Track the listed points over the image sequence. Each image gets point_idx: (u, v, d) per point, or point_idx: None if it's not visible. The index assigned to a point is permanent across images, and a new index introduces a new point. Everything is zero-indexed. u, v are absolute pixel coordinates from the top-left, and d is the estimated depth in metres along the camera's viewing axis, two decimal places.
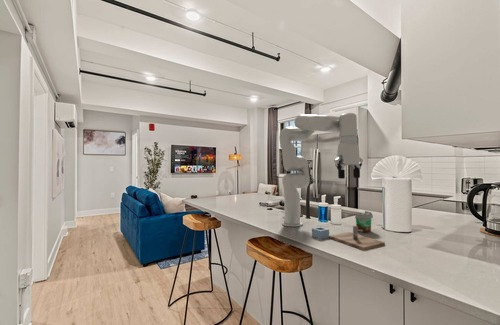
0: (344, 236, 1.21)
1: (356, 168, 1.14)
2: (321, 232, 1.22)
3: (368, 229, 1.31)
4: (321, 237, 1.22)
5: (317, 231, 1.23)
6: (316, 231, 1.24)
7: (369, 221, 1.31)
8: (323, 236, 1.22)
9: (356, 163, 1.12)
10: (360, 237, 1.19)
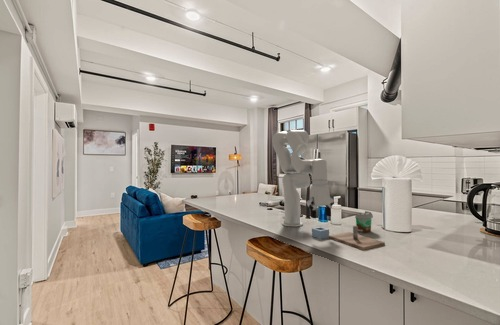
0: (344, 236, 1.21)
1: (327, 207, 1.27)
2: (321, 232, 1.22)
3: (368, 229, 1.31)
4: (321, 237, 1.22)
5: (317, 231, 1.23)
6: (316, 231, 1.24)
7: (369, 221, 1.31)
8: (323, 236, 1.22)
9: (327, 203, 1.24)
10: (360, 237, 1.19)
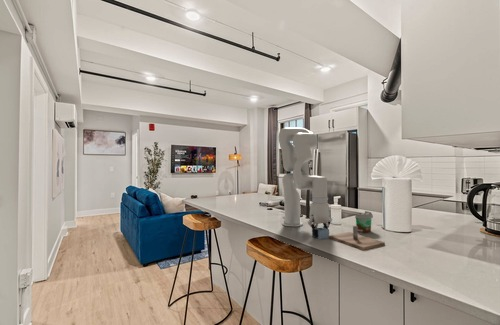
0: (344, 236, 1.21)
1: (325, 226, 1.27)
2: (321, 232, 1.22)
3: (368, 229, 1.31)
4: (321, 237, 1.22)
5: None
6: None
7: (369, 221, 1.31)
8: (323, 236, 1.22)
9: (326, 221, 1.25)
10: (360, 237, 1.19)
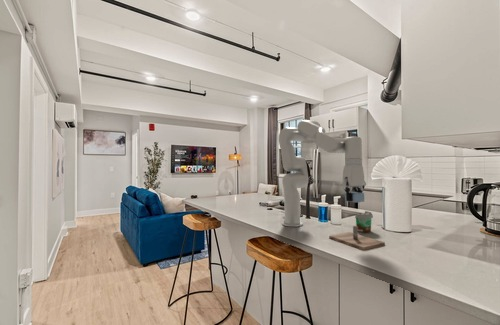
0: (344, 236, 1.21)
1: (359, 191, 1.18)
2: (356, 195, 1.14)
3: (368, 229, 1.31)
4: (356, 201, 1.13)
5: (352, 194, 1.15)
6: None
7: (369, 221, 1.31)
8: (358, 200, 1.14)
9: (361, 184, 1.17)
10: (360, 237, 1.19)
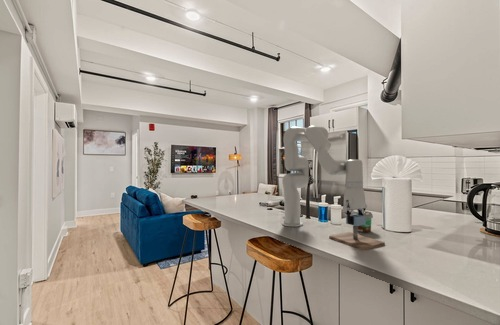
0: (344, 236, 1.21)
1: (360, 213, 1.18)
2: (357, 219, 1.13)
3: (368, 229, 1.31)
4: (357, 224, 1.13)
5: None
6: None
7: (369, 221, 1.31)
8: (359, 223, 1.14)
9: (362, 207, 1.16)
10: (360, 237, 1.19)
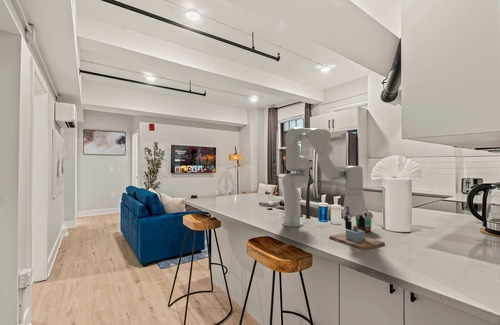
0: (344, 236, 1.21)
1: (361, 218, 1.19)
2: (357, 234, 1.13)
3: (368, 229, 1.31)
4: (357, 239, 1.13)
5: (353, 233, 1.14)
6: (351, 233, 1.15)
7: (369, 221, 1.31)
8: (359, 238, 1.14)
9: (362, 214, 1.16)
10: None
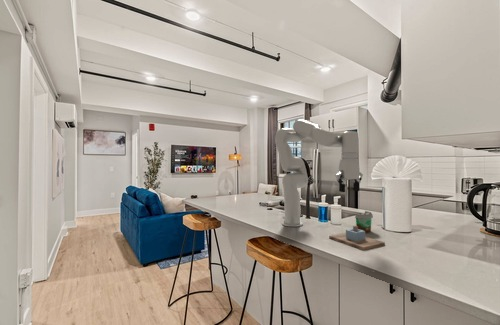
0: (344, 236, 1.21)
1: (356, 182, 1.23)
2: (357, 234, 1.13)
3: (368, 229, 1.31)
4: (357, 239, 1.13)
5: (353, 233, 1.14)
6: (351, 233, 1.15)
7: (369, 221, 1.31)
8: (359, 238, 1.14)
9: (356, 178, 1.20)
10: None
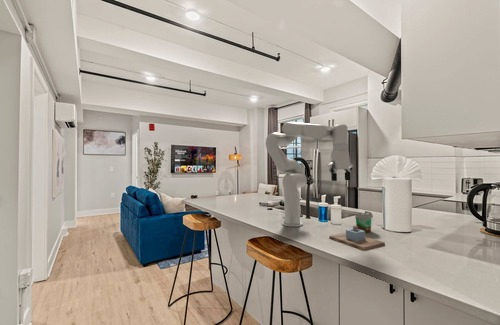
0: (344, 236, 1.21)
1: (347, 172, 1.32)
2: (357, 234, 1.13)
3: (368, 229, 1.31)
4: (357, 239, 1.13)
5: (353, 233, 1.14)
6: (351, 233, 1.15)
7: (369, 221, 1.31)
8: (359, 238, 1.14)
9: (347, 167, 1.29)
10: None
